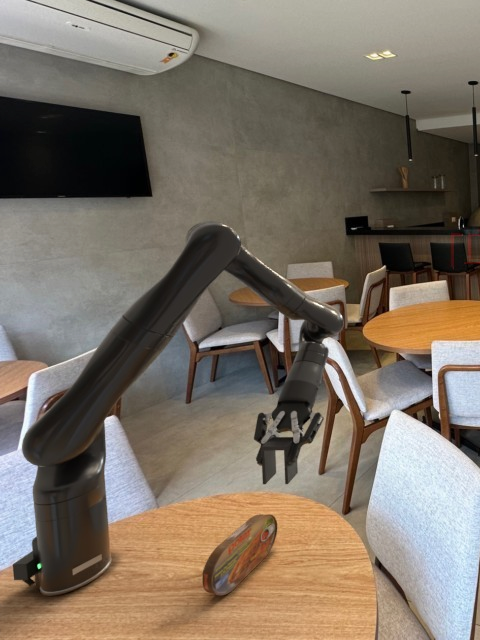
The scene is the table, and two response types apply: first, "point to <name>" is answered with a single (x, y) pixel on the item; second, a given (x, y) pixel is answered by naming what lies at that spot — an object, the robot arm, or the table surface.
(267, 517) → the tin
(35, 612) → the table surface
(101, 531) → the robot arm
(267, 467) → the dark grey stool
